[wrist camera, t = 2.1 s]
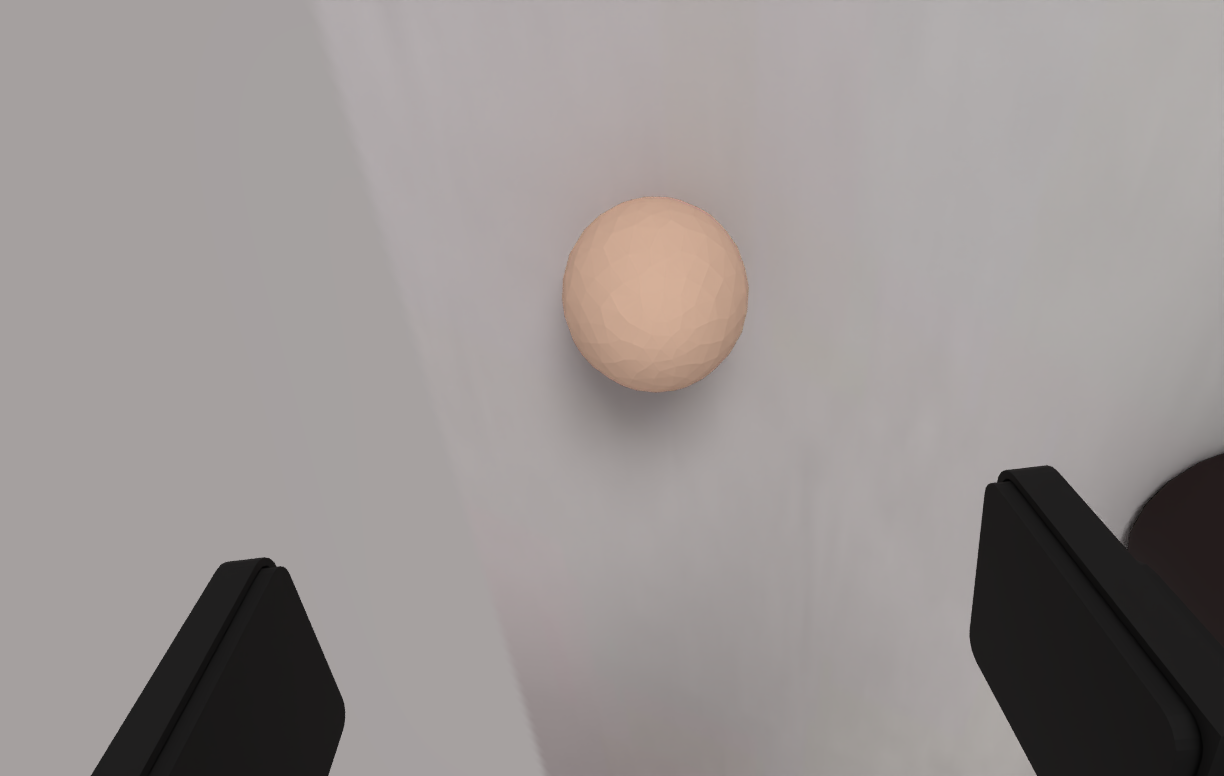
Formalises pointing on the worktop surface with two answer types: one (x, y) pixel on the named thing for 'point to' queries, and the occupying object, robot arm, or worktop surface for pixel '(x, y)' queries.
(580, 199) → the worktop surface
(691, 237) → the egg
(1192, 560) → the bottle
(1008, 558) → the robot arm
